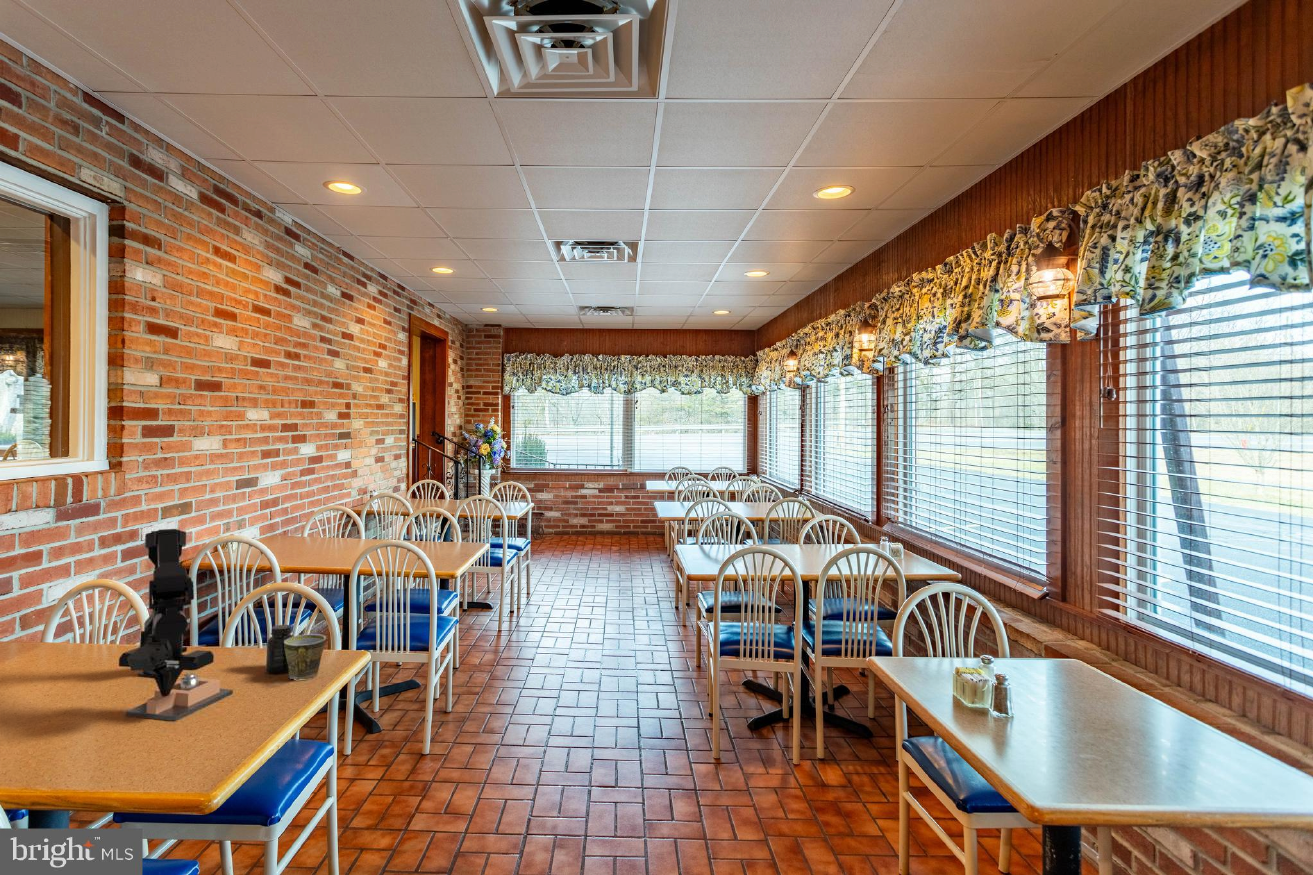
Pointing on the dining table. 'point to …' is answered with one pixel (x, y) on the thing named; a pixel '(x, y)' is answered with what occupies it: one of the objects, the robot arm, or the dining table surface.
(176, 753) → the dining table surface
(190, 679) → the base with metal peg
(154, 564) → the robot arm
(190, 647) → the dining table surface
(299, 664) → the ceramic cup
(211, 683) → the square ring with tab
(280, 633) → the supplement bottle
